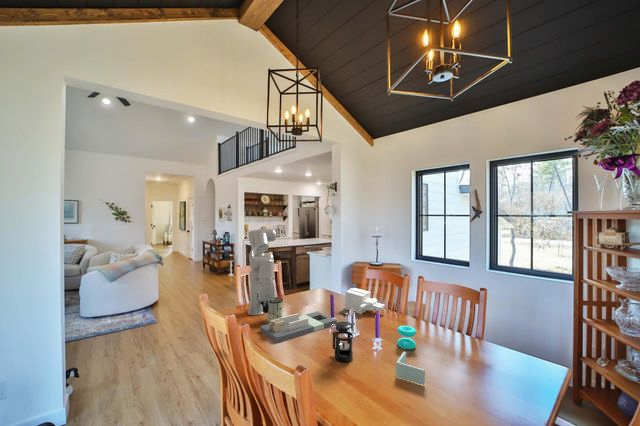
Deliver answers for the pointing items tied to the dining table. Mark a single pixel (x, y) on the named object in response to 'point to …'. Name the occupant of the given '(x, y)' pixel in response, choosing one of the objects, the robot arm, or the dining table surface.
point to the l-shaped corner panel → (409, 371)
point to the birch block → (277, 325)
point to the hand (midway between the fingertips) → (265, 312)
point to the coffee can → (275, 309)
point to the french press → (343, 346)
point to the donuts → (406, 332)
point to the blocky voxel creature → (361, 301)
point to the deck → (298, 326)
